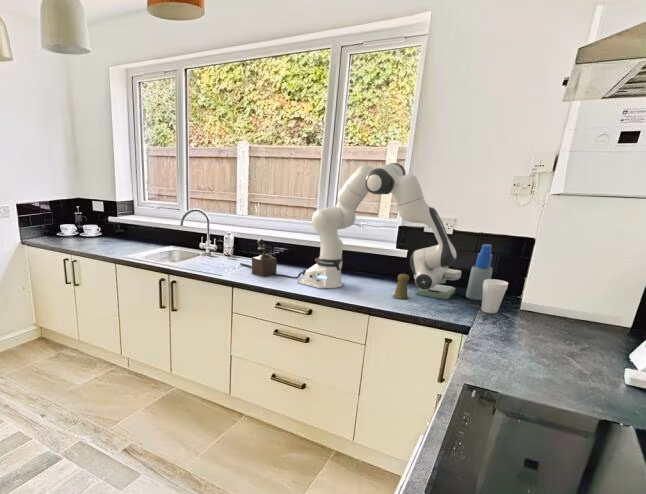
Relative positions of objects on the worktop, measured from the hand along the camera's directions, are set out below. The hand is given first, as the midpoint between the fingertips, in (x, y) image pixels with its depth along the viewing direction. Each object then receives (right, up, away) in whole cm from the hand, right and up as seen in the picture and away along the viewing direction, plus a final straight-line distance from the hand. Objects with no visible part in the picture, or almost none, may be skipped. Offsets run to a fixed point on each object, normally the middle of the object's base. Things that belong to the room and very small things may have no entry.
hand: (441, 269), depth 220 cm
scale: (-1, -11, +4) cm, 12 cm away
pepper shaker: (-20, -14, -2) cm, 25 cm away
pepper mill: (-85, +5, +41) cm, 95 cm away
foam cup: (+12, -22, -20) cm, 32 cm away
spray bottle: (+16, -14, -1) cm, 21 cm away
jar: (-1, -6, +2) cm, 6 cm away
